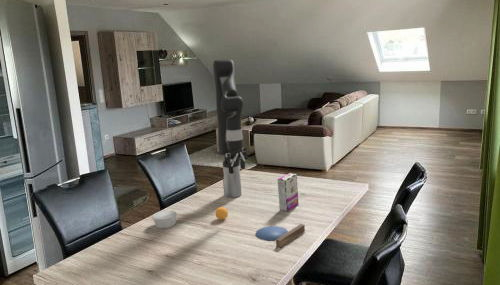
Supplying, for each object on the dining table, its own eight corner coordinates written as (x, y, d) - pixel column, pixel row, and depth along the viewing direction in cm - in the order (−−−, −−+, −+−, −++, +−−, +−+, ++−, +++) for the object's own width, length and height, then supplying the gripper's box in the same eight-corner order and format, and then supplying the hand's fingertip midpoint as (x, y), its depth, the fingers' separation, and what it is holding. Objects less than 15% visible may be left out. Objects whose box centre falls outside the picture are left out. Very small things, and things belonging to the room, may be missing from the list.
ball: (213, 220, 189) (212, 208, 187) (221, 215, 193) (220, 204, 192) (222, 222, 185) (221, 210, 183) (230, 218, 189) (229, 206, 188)
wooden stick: (276, 246, 157) (275, 239, 157) (300, 230, 171) (300, 223, 170) (280, 247, 156) (280, 240, 155) (304, 231, 169) (304, 224, 169)
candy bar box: (290, 203, 204) (289, 172, 201) (298, 204, 201) (297, 173, 198) (278, 210, 195) (277, 178, 192) (287, 212, 192) (285, 179, 189)
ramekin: (172, 230, 180) (170, 219, 179) (149, 229, 183) (148, 219, 182) (181, 220, 191) (180, 210, 190) (159, 220, 193) (158, 210, 192)
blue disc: (249, 235, 169) (249, 235, 169) (268, 224, 179) (268, 223, 179) (275, 243, 160) (275, 243, 160) (294, 231, 170) (294, 230, 170)
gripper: (238, 135, 195) (240, 166, 198) (218, 140, 184) (221, 174, 187) (250, 136, 190) (252, 168, 194) (230, 142, 179) (233, 176, 183)
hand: (237, 171), depth 190 cm, fingers open, 8 cm apart
